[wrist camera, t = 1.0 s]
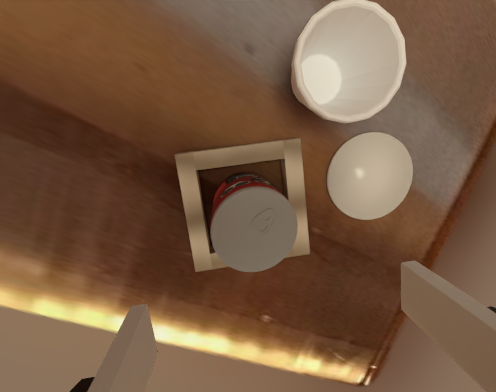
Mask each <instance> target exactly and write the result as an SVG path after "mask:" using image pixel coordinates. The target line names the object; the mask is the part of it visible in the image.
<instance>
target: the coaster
mask: <svg viewBox="0 0 496 392" xmlns="http://www.w3.org/2000/svg"><path fill="white" fill-rule="evenodd" d="M412 176H413V166H412V161H411V158H410V155H409V153H408V151H407V149H406V148H405V146H404V145H403V144H402V143H401V142H400V141H399V140H397V139H396V138H394V137H393V136H391V135H388V134H385V133H379V132H368V133H363V134H359V135H356V136H354V137H352V138H350V139H349V140H347V141H346V142H345V143H343V144H342V145H341V146H340V147H339V148H338V149H337V151H336V152H335V154H334V155H333V157H332V159H331V161H330V163H329V166H328V170H327V176H326V184H327V190H328V194H329V196H330V198H331V200H332V202H333V203H334V204H335V206H336V207H337V208H338V209H339V210H340V211H342V212H343V213H345V214H346V215H348V216H350V217H353V218H356V219H362V220H369V219H376V218H379V217H382V216H384V215H386V214H388V213H390V212H391V211H393V210H394V209H395V208H396V207H397V206H398V205H399V204H400V203H401V202H402V201H403V199H404V198H405V196H406V195H407V193H408V191H409V188H410V185H411V182H412Z"/></svg>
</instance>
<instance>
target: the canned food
mask: <svg viewBox="0 0 496 392" xmlns="http://www.w3.org/2000/svg"><path fill="white" fill-rule="evenodd" d="M297 230H298V223H297V217H296V214H295V211H294V209H293V207H292V205H291V204H290V202H289V201H288V200H287V199H286V197H285V196H284V195H283V194H282V193H281V192H280V191H279V190H278V189H277V188H276V187H275V186H273V185H272V184H271V183H270V182H269V181H268V180H267V179H266V178H265V177H263V176H262V175H259V174H257V173H253V172H241V173H237V174H234V175H232V176H230V177H229V178H227V179H226V180H224V182H223V183H222V184H221V185H220V186H219V188H218V189H217V191H216V193H215V196H214V200H213V208H212V216H211V240H212V245H213V247H214V250H215V252H216V254H217V255H218V256H219V258H220V259H221V260H222V261H223V262H224V263H225V264H226V265H228V266H230V267H231V268H233V269H236V270H239V271H243V272H259V271H263V270H266V269H268V268H271V267H273V266H275V265H276V264H278V263H279V262H281V261H282V260H283V259H284V258H285V257H286V256H287V254H288V253H289V252H290V250H291V249H292V247H293V245H294V243H295V240H296V236H297Z"/></svg>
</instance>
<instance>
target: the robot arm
mask: <svg viewBox="0 0 496 392" xmlns="http://www.w3.org/2000/svg"><path fill="white" fill-rule="evenodd" d="M401 309H402V310H403V311H404V312H405V313H406V314H407V315H408V316H409V317H410V318H411V319H412V320H413V321H414V322H415V323H416V324H417V325H418V326H419V327H420V328H421V329H422V330H423V331H424V332H425V333H426V334H427V335H428V336H429V337H431V339H432V340H434V342H435V343H437V344H438V345H439V346H440V347H441V348H442V349H443V350H444V351H445V352H446V353H447V354H448V355H449V356H450V357H451V358H452V359H453V360H454V361H455V362H456V363H457V364H458V365H459V366H460V367H461V368H462V369H463V370H464V371H465V372H467V374H468V375H469V376H470V377H471V378H473V379H474V380H475V381H476V382H477V383H478V384H479V385H480V386H481V387H482V388H483V389H484V390H485V391H486V392H496V308H494V307H485V306H484V305H482V304H481V303H479V302H478V301H476V300H475V299H473V298H472V297H470V296H468V295H467V294H465V293H464V292H462V291H461V290H459V289H458V288H456V287H454V286H453V285H452V284H450V283H449V282H447V281H446V280H444V279H443V278H441V277H439V276H438V275H436V274H435V273H433V272H432V271H430V270H429V269H427V268H426V267H424V266H423V265H421V264H420V263H418V262H417V261H409V262H402V263H401ZM157 352H158V350H157V346H156V341H155V337H154V332H153V328H152V324H151V319H150V315H149V310H148V306H147V304H142V305H136V306H131V308H130V310H129V312H128V314H127V316H126V318H125V320H124V321H123V323H122V325H121V327H120V329H119V331H118V333H117V335H116V337H115V339H114V341H113V343H112V345H111V347H110V349H109V351H108V353H107V355H106V356H105V358H104V360H103V362H102V364H101V366H100V368H99V370H98V372H97V374H96V376H95V377H91V378H85V379H82V380H81V381H80V382H79V383H78V384H77V385H76V386H75V387H74V388H73V389H72V390H71V391H70V392H146V390H147V387H148V383H149V380H150V376H151V373H152V369H153V366H154V362H155V359H156V355H157Z"/></svg>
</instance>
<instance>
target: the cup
mask: <svg viewBox="0 0 496 392" xmlns="http://www.w3.org/2000/svg"><path fill="white" fill-rule="evenodd" d="M405 66H406V53H405V40H404V37H403V35H402V33H401V31H400V29H399V27H398V25H397V23H396V21H395V19H394V17H392V16H391V15H390V14H389V13H388V12H387V11H385V10H384V9H383V8H382V7H381V6H380V5H378V4H377V3H375V2H371V1H367V0H339V1H334V2H331V3H330V4H328V5H327V6H326V7H324V8H323V9H321V10H320V11H319V12H317V13H316V14H314V15H313V16H312V17H311V18H310V20H309V21H308V23H307V25H306V26H305V28H304V29H303V31H302V33H301V34H300V36H299V37H298V39H297V41H296V44H295V49H294V54H293V59H292V63H291V67H292V73H291V85H292V90H293V93H294V94H295V96H296V98H297V100H298V101H299V102H301V103H302V104H303V105H305V106H306V107H307V108H308V109H310V110H311V111H313V112H314V113H315V114H317V115H318V116H320V117H321V118H323V119H326V120H330V121H335V122H340V123H350V122H355V121H359V120H364V119H368V118H370V117H371V116H373V115H374V114H376V113H377V112H378V111H380V110H381V109H383V108H384V107H386V106H387V105H388V103H389V102H390V100H391V99H392V97H393V96H394V94H395V93H396V92H397V90H398V89H399V87H400V85H401V81H402V77H403V74H404V70H405Z"/></svg>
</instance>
